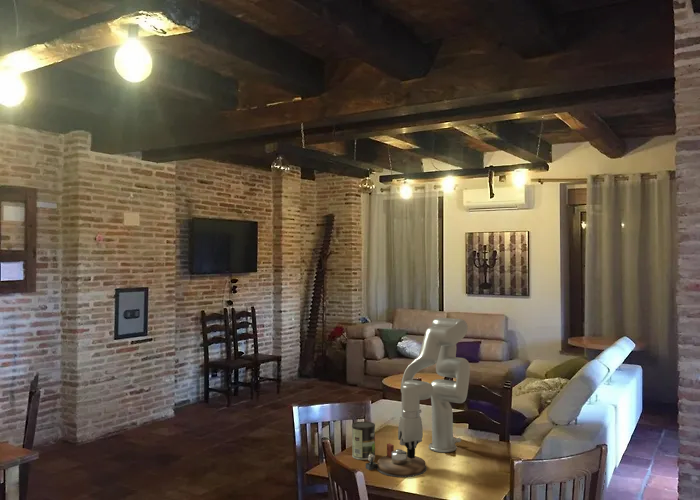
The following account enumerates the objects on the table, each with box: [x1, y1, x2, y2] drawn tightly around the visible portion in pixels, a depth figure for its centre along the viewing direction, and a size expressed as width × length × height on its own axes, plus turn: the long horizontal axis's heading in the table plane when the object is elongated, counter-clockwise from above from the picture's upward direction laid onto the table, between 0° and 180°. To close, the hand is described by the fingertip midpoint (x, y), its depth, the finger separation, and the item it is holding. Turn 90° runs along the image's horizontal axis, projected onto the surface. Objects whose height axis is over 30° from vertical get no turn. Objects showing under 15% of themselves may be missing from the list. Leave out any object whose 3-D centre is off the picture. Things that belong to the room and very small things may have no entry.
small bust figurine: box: [365, 454, 378, 471], centre depth 244 cm, size 4×3×6 cm
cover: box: [391, 448, 407, 465], centre depth 244 cm, size 6×6×5 cm
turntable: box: [377, 443, 426, 476], centre depth 244 cm, size 20×20×7 cm
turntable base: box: [376, 463, 428, 478], centre depth 244 cm, size 21×21×1 cm
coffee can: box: [351, 421, 376, 461], centre depth 259 cm, size 10×10×14 cm
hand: (411, 457), depth 246 cm, fingers closed
